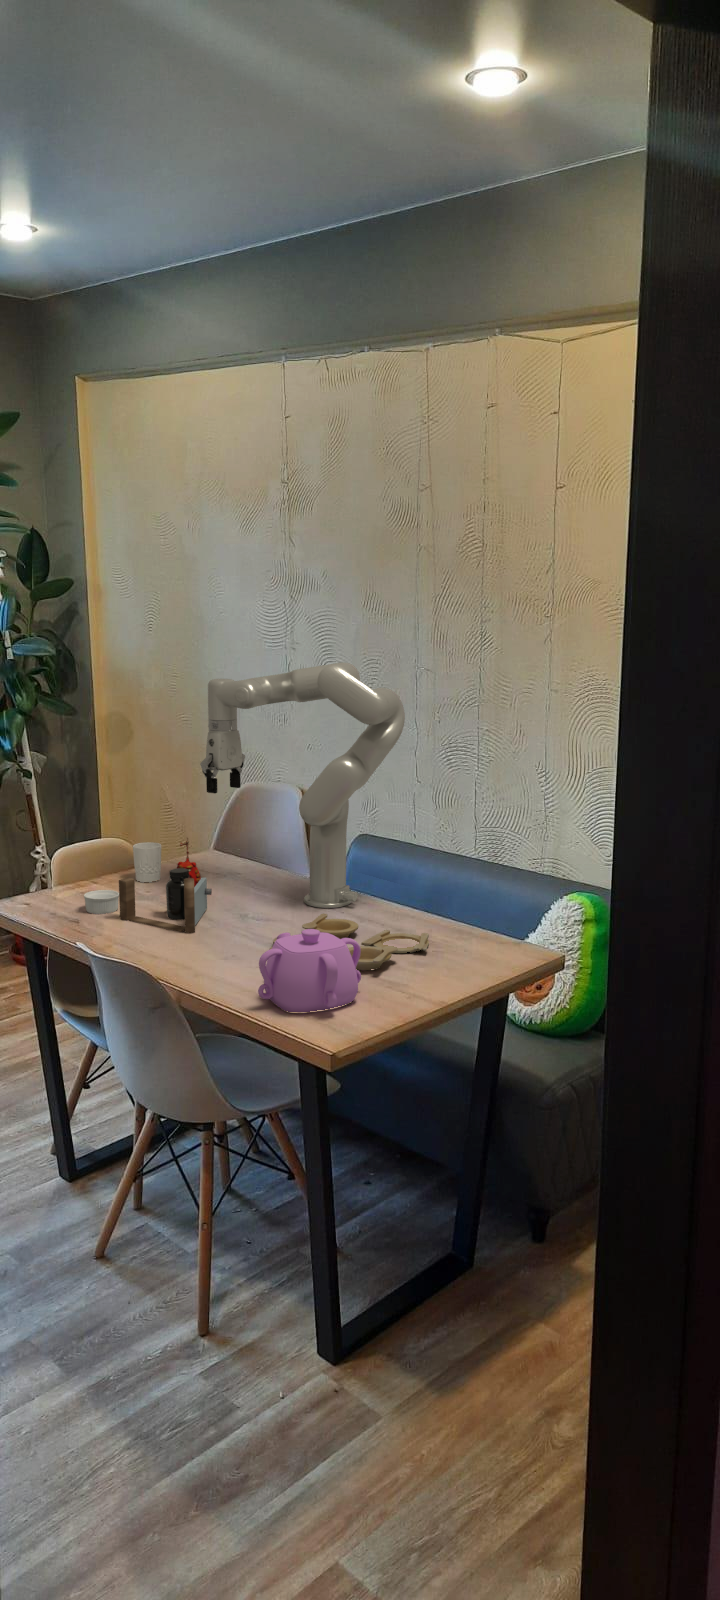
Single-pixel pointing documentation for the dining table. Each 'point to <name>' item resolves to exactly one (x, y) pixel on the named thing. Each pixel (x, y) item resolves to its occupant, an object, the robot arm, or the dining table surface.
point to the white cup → (147, 861)
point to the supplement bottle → (176, 893)
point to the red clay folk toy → (190, 866)
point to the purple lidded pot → (310, 971)
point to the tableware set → (367, 941)
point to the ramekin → (101, 901)
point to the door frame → (129, 914)
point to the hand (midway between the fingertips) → (223, 790)
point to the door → (201, 898)
